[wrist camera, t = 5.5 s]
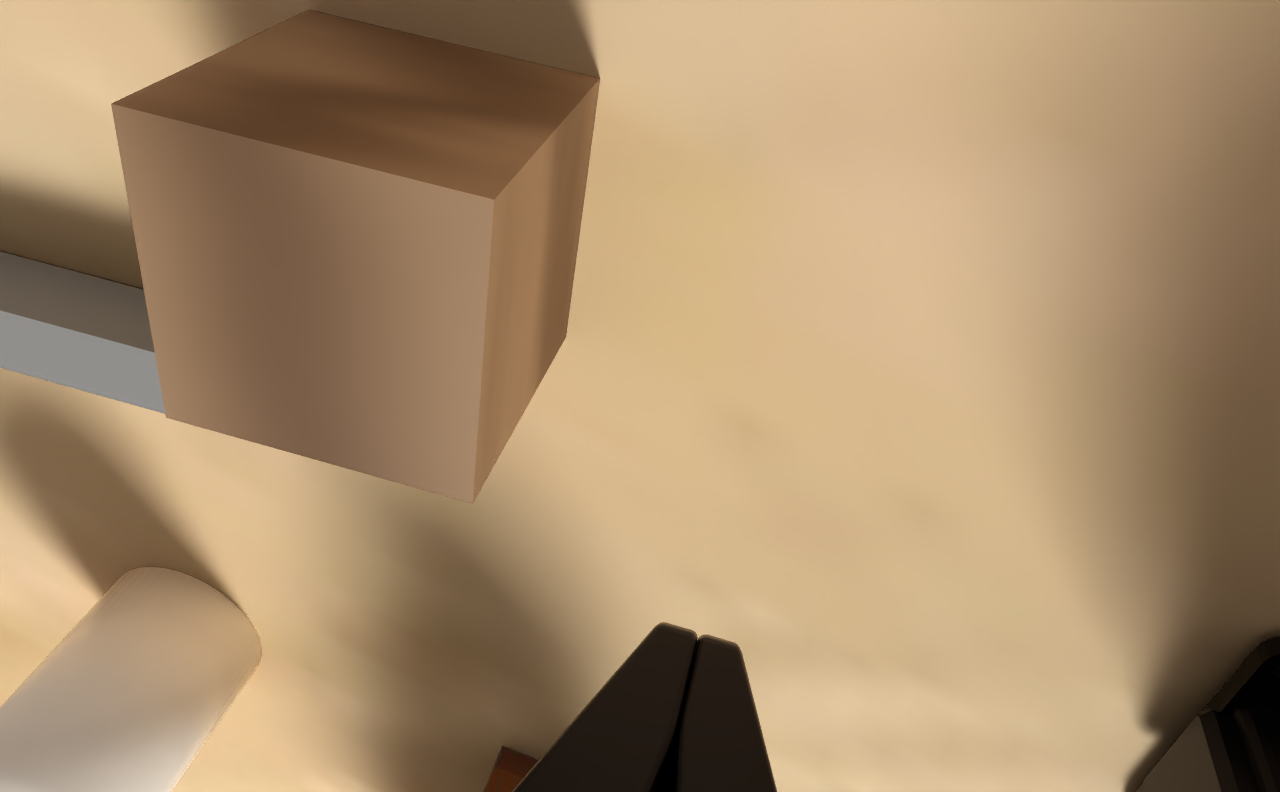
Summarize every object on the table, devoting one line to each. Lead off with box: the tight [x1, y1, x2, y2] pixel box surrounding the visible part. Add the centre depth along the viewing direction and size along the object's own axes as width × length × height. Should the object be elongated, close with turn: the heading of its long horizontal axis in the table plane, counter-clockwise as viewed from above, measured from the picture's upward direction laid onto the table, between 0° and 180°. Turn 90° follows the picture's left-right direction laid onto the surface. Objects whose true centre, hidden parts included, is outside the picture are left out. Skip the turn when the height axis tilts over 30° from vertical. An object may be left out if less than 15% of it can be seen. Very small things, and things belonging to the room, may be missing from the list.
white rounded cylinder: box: [0, 567, 262, 792], centre depth 24 cm, size 4×4×6 cm
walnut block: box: [111, 10, 600, 504], centre depth 15 cm, size 5×5×5 cm
